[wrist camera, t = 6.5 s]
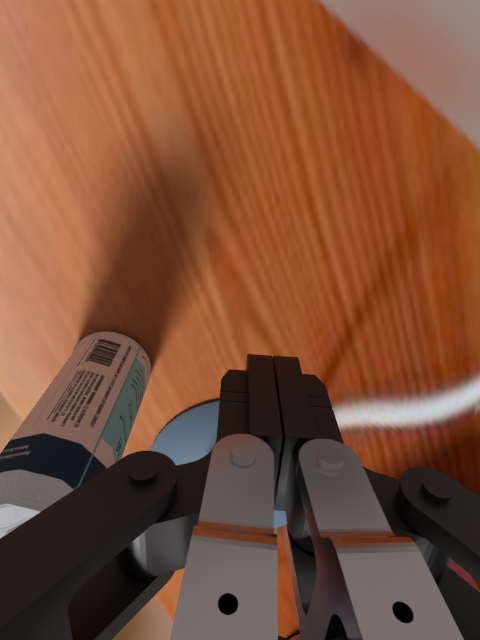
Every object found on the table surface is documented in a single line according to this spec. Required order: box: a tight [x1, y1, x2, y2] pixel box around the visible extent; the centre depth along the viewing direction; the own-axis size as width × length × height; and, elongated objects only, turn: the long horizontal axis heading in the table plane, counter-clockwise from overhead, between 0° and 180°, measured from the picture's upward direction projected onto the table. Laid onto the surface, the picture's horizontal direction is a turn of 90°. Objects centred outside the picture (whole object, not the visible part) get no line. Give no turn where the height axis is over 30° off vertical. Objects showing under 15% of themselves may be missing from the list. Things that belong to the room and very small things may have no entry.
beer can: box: [0, 331, 151, 538], centre depth 20 cm, size 5×5×12 cm
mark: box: [151, 400, 287, 529], centre depth 29 cm, size 13×13×1 cm
